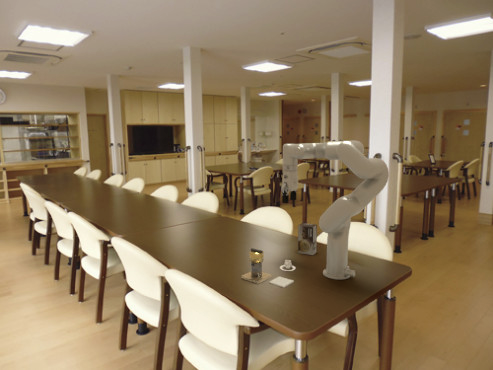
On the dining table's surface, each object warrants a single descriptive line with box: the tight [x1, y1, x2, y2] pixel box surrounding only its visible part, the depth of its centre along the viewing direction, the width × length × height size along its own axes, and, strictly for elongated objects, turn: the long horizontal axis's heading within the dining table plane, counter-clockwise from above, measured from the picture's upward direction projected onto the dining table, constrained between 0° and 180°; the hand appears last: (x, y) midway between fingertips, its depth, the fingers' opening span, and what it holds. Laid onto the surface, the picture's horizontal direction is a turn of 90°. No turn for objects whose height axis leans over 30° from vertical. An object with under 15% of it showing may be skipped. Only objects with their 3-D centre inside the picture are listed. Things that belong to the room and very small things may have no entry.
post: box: [240, 261, 272, 285], centre depth 163 cm, size 10×10×8 cm
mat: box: [268, 275, 295, 289], centre depth 158 cm, size 8×8×1 cm
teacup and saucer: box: [279, 259, 296, 272], centre depth 176 cm, size 9×8×4 cm
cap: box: [249, 247, 264, 263], centre depth 162 cm, size 6×6×5 cm
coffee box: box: [297, 222, 318, 256], centre depth 197 cm, size 9×6×16 cm
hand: (289, 201), depth 180 cm, fingers open, 9 cm apart
